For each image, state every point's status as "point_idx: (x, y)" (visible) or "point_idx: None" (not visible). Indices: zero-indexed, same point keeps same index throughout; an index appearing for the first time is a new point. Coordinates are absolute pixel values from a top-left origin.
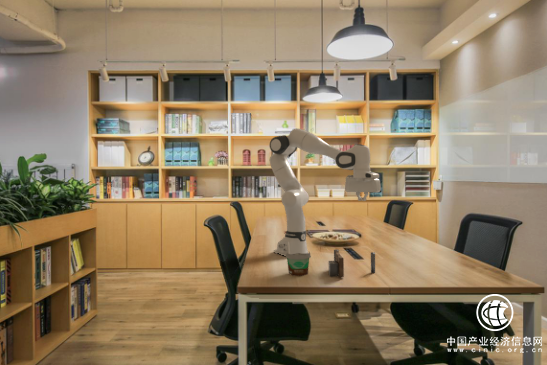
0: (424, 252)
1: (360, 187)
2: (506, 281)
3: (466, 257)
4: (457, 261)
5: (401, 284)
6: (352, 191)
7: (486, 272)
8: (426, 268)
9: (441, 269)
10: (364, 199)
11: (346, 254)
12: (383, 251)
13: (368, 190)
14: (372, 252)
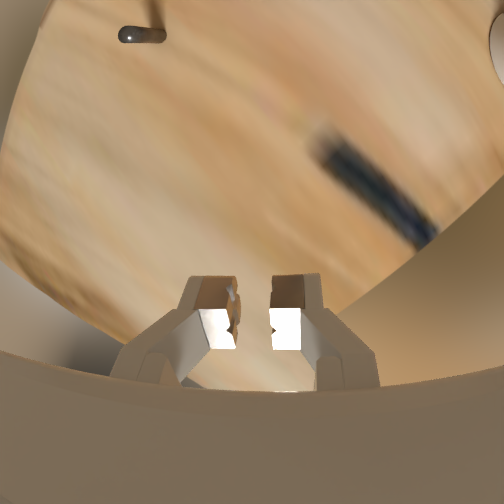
0: (233, 350)
1: (191, 502)
2: (8, 243)
3: None
4: (130, 319)
5: (51, 34)
6: (468, 378)
7: (51, 275)
8: (110, 212)
9: (91, 232)
10: (186, 286)
11: (403, 174)
12: (325, 297)
13: (18, 382)
14: (130, 36)
